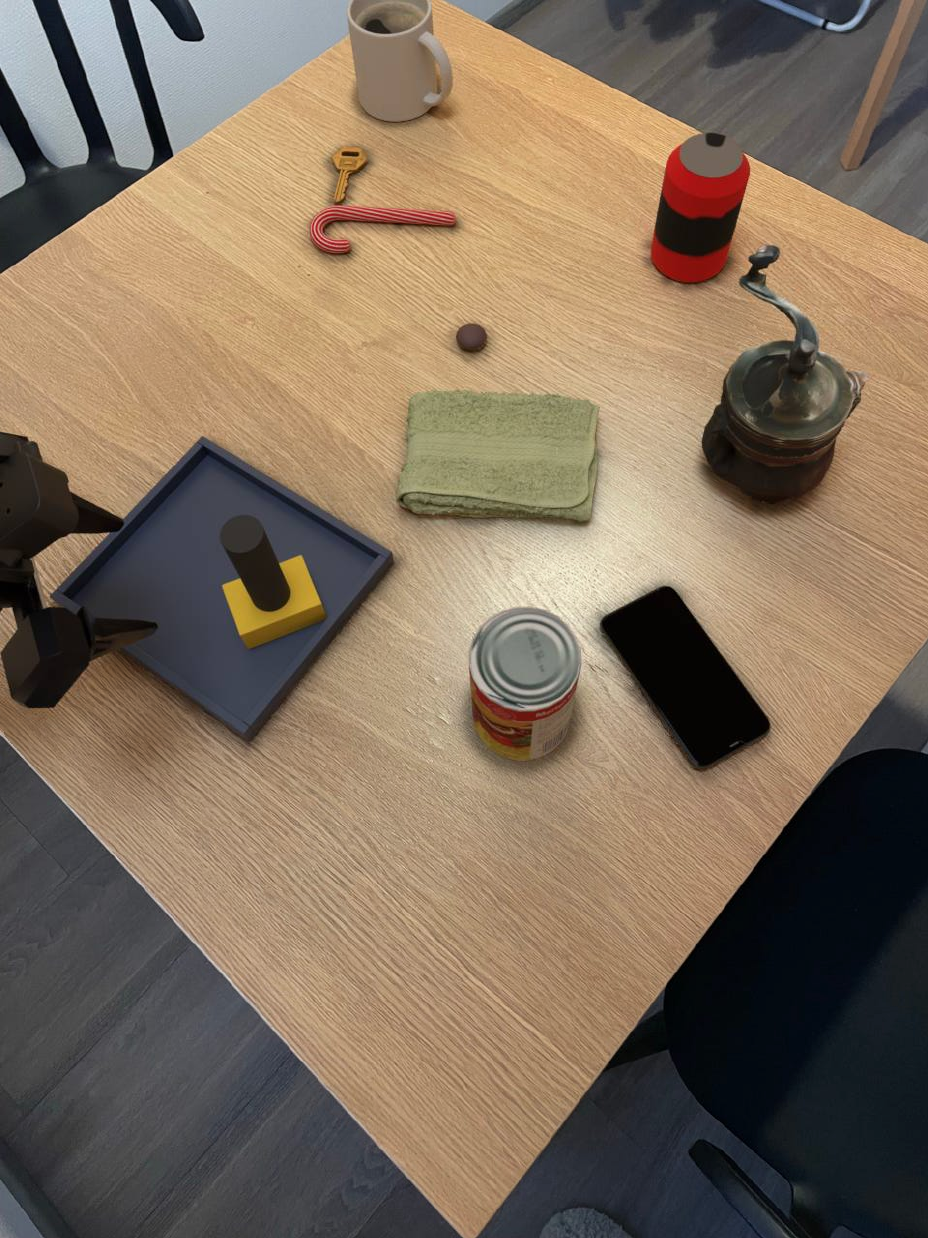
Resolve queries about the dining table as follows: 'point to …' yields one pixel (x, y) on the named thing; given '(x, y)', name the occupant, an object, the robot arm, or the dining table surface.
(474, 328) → the chocolate truffle
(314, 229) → the candy cane
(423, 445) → the washcloth
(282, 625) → the sponge wand
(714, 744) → the smartphone
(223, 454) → the tray
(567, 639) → the canned food
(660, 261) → the soda can
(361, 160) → the key
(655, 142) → the dining table surface
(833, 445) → the coffee grinder
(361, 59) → the mug
